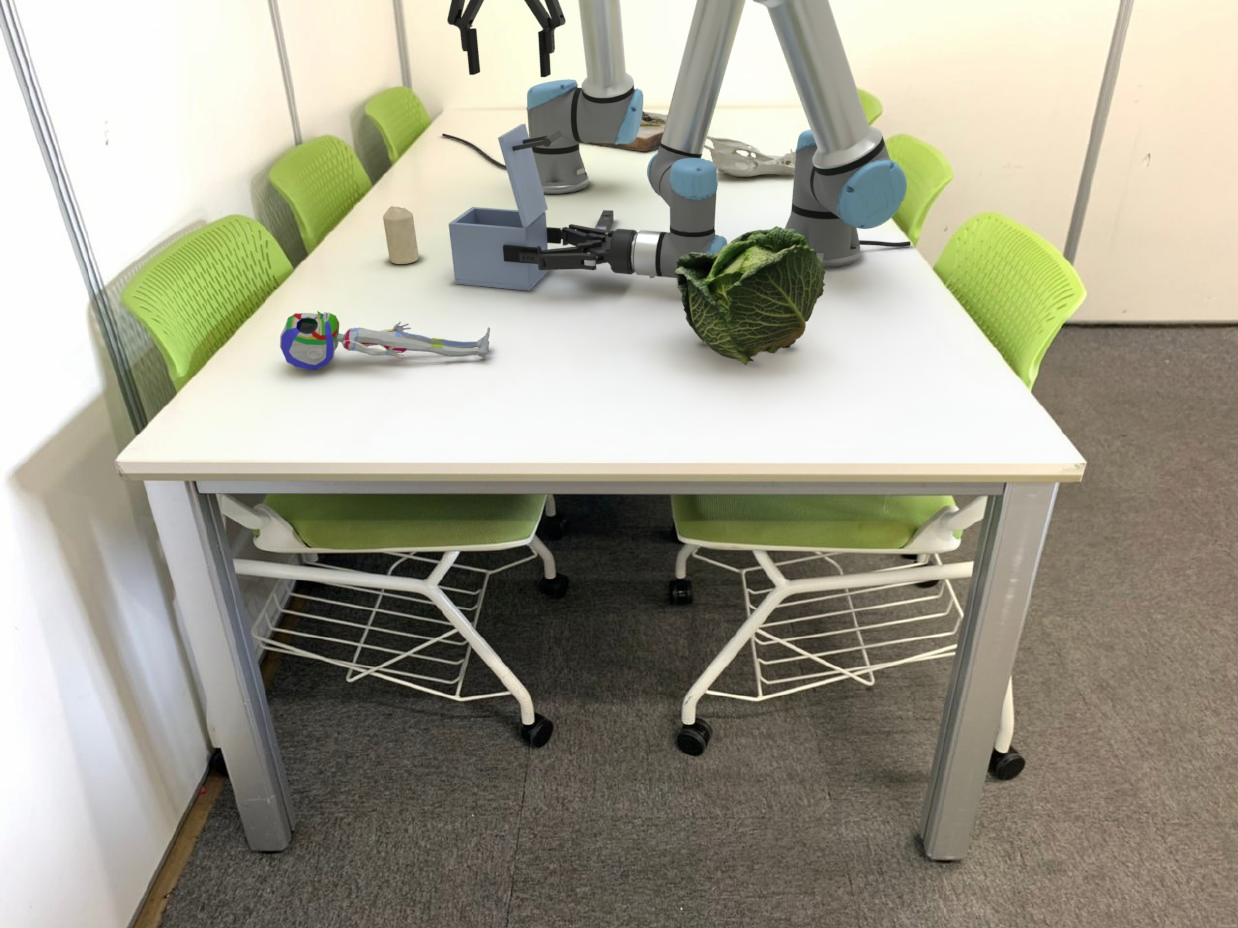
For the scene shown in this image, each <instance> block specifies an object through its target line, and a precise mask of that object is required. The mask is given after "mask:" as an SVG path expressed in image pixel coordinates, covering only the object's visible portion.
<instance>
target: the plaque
mask: <svg viewBox="0 0 1238 928" xmlns="http://www.w3.org/2000/svg"><path fill="white" fill-rule="evenodd" d="M667 116H668V114H663V113H659V112H650V111H644V110H643V111H642V118H641V124H640V128H639V132H638V135H637V137H636V139H635V140H634V141H633V142H632V143H629V144H617V145H616V144H613V143H591V142H584V143H586V144H593V145H597V146H598V145H599V146H607V147H612V148H620V149H625V150H632V151H640V152H648V151H654V150H656V149H659V146H660V143H661V140H662V136H663V132H664V128H665V124H666V120H667Z"/></svg>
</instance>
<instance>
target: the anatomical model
mask: <svg viewBox="0 0 1238 928" xmlns="http://www.w3.org/2000/svg"><path fill="white" fill-rule="evenodd" d="M706 140H709V141H711V143H712V147H710V146H709V145H707V144H705V145H704V148H703V149H706V150H709V152H710V157H711V161H712V162H713V163H714V164H715V165H716V169H717V172H720V173H722V174H728V175H729V176H732V177H735V178H736V177H737V178H748V177H749V178H750V177H755V176H759V175H785V176H786V175H787V176H789V175H794V171H795V159H796V153H795V151H793V149H792V148H790V149H789V150H790V153H789V152H787V153H785V154H784V155H782V156H781V155H771V154H765V153H763V152H761V151H760V149H758V148H757V147H755V146H753V145H751V144H748V143H745V142H743V141H740V140H737V139H731V138H728V137H727V138H726V137H724V138H723V137H715V136H711V135H707V138H706ZM737 151H744V152H746V153H747V155H743V154H741V153H739V152H737ZM752 154H754V155H755V157H754V156H752Z"/></svg>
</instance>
